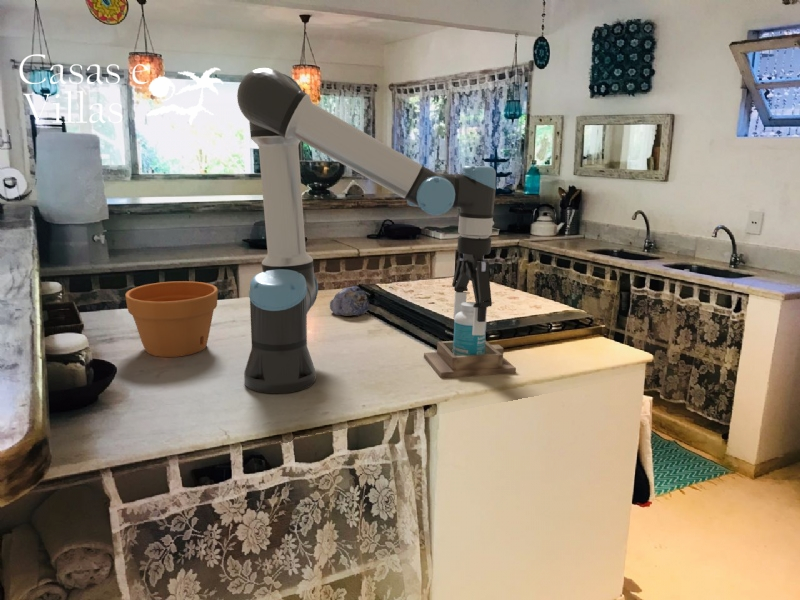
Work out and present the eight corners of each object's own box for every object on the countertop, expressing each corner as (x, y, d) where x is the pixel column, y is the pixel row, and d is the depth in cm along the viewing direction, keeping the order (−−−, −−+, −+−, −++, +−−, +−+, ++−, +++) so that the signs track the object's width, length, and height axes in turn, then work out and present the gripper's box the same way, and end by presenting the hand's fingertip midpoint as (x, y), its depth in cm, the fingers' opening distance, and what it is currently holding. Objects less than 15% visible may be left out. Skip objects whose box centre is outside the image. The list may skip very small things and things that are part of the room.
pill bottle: (482, 366, 148) (485, 309, 145) (450, 363, 149) (452, 306, 146) (485, 355, 155) (488, 301, 152) (455, 353, 157) (457, 299, 153)
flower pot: (184, 367, 147) (180, 304, 143) (110, 355, 153) (104, 295, 150) (236, 341, 166) (234, 285, 163) (168, 332, 173) (164, 278, 169)
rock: (375, 303, 198) (361, 277, 193) (358, 325, 191) (342, 299, 187) (350, 304, 204) (335, 279, 200) (332, 326, 198) (317, 300, 193)
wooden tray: (440, 377, 144) (441, 359, 143) (423, 357, 157) (424, 341, 156) (515, 372, 148) (516, 355, 147) (493, 353, 161) (494, 337, 160)
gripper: (512, 244, 134) (503, 341, 140) (472, 228, 158) (466, 312, 163) (478, 244, 133) (471, 342, 138) (442, 227, 156) (437, 312, 161)
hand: (468, 326), depth 150 cm, fingers open, 13 cm apart
